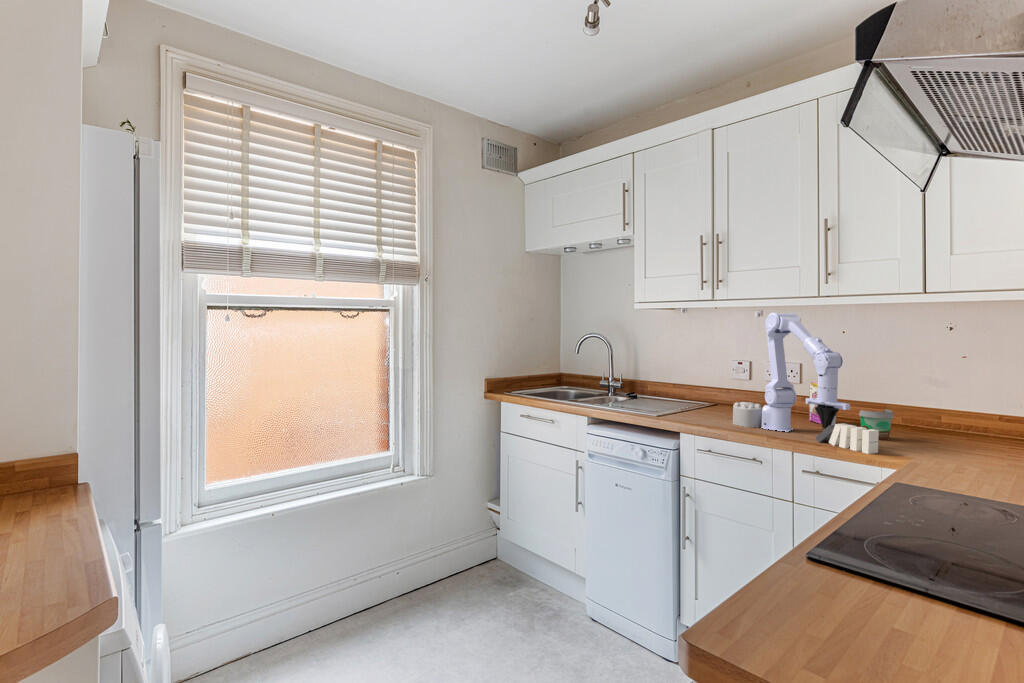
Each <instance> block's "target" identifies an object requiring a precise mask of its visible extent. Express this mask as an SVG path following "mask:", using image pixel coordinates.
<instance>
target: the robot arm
mask: <svg viewBox="0 0 1024 683" xmlns="http://www.w3.org/2000/svg"><path fill="white" fill-rule="evenodd" d="M801 321H802V319H801V318H800V317H799V315H798V314H796V313H795V312H790V313H788V312H785V313H784V312H780V313H779V312H778V313H777V312H771V313H769V315H768V316H767V318H766V319H765V322H764V323H765V331H766V340H767V341H766V344H767V351H768V360H769V361H768V362H769V369H770V370H769V372H770V380H771V381H770V382H768V383H767V384H766V385H765V393H764V401H765V402H766V404H765V405H763V407H762V426H761V427H760V429H761V428H763V429H764V430H768V429H769V431H775V430H777V431H776V432H782V431H785V432H784V433H790V432H791V430H792V431H794V430H795V428H794V427H791V420H792V417H791V416H792V407H793V406H794V404H796V402H797V393H796V390H795V387H794V384H793V383H791V382H790V381H789V380H788V375H787V365H786V355H785V345H784V339H785V338H786V336H788V335H790V334H791V333H792V335H794V336H795V337H796V338H797V339H798V340H800V341H801V342H802V343H803V349H804V350H805V351H806V352H807V353H808V354H809V355H810V357H811V358H812V359H813V364H814V367H815V369H816V371H815V372H816V374H817V382H818V389H817V399H813V398H810V397H806V398H805V404H806V405H809V404H813V405H818V406H817V407H815V410H816V411H817V413H818V415H819V417H820V420H821V424H822V425H821V427H822V429H826V428H827V427H828V426H829V425H831V424H832V421H833V419H834V417H835V415H836V416H837V413H838V412H839V411H840V410H844V411H850V410H851V403H845V402H843V401H842V402H841V401H838V385H839V381H838V380H839V369H840V368H841V367H842V366H843V364H844V361H843V360H844V359H843V357H842V355H841V353H839V351H833V350H831V348H830V347H828V346H827V345H826V344H825V343H824V342H823V339H822V338H821V337H817V336H812V335H811V333H810V332H809V331H808V329H807V328H806V327H805V326H804V325H803V324H802V322H801ZM824 404H827V405H824ZM830 405H831V406H830ZM763 429H762V430H763ZM793 429H794V430H793ZM789 431H790V432H789Z"/></svg>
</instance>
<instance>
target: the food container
mask: <svg viewBox="0 0 1024 683" xmlns="http://www.w3.org/2000/svg"><path fill="white" fill-rule="evenodd" d="M858 416H859V417H860V427H863V428H867V430H868V429H874V430H879V436H878V440H887V441H889V440H890V435H891V429H892V428H891V427H892V420H893V419H894V418H895V415H894V412H893V410H891V409H887V408H884V411H877V410H871V411H870V410H863V409H860V411H859V414H858ZM888 439H889V440H888Z"/></svg>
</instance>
